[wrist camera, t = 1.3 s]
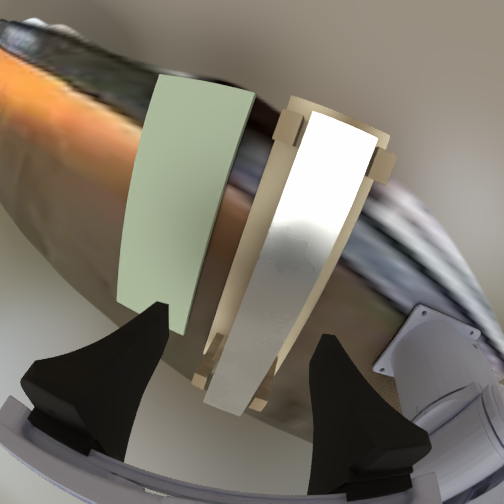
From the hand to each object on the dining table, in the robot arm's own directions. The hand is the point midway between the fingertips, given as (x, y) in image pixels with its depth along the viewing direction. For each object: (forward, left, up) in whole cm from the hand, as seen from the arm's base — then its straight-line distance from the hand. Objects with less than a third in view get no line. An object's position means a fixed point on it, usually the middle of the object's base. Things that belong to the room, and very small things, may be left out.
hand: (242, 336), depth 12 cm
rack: (-1, 0, -10) cm, 10 cm away
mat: (+9, 0, -10) cm, 13 cm away
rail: (-1, 0, -5) cm, 5 cm away
